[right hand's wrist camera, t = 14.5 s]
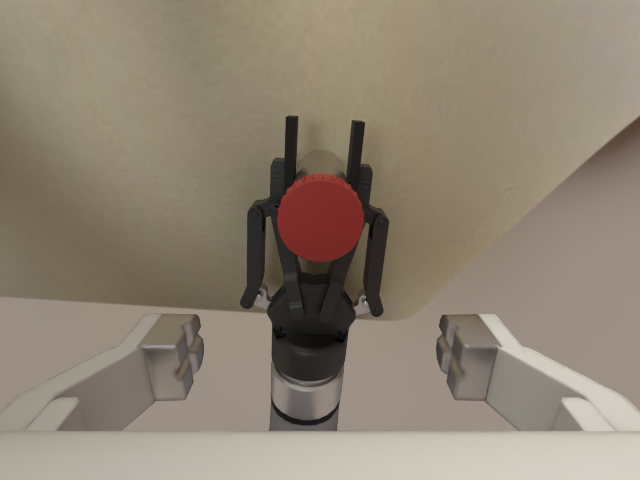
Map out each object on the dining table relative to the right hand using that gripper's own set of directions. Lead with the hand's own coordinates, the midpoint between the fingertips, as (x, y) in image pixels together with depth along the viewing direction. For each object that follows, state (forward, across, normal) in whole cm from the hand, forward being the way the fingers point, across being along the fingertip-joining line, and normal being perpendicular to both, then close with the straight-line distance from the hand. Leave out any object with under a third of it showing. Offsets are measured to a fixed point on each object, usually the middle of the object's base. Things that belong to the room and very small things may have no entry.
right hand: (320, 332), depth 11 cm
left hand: (+20, 0, -5) cm, 21 cm away
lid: (+11, 0, 0) cm, 11 cm away
